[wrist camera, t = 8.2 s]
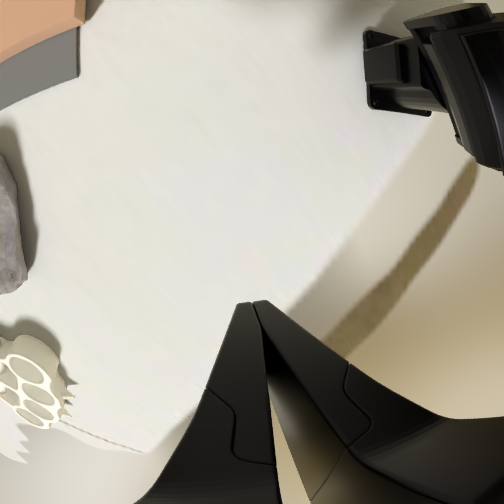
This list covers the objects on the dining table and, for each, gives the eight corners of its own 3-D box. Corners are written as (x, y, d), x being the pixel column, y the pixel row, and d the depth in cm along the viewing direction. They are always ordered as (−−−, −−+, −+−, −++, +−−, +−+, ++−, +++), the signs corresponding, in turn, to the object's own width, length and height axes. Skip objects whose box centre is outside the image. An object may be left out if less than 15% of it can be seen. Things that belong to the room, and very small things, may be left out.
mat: (95, -87, 6) (94, -88, 5) (78, 77, 14) (76, 76, 14) (1, -41, 4) (0, -41, 4) (-19, 120, 13) (-21, 121, 12)
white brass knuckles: (-22, 299, 20) (85, 358, 25) (-10, 381, 25) (70, 423, 30) (-36, 317, 17) (78, 382, 22) (-17, 397, 22) (67, 440, 27)
